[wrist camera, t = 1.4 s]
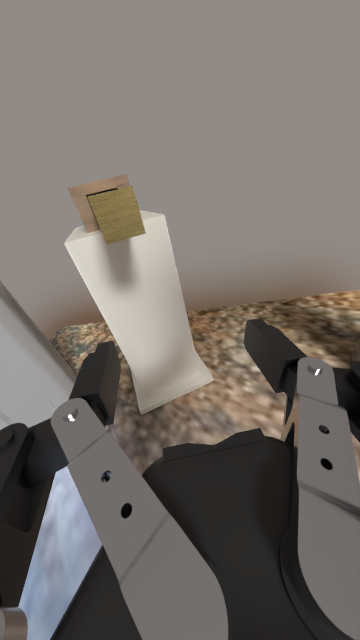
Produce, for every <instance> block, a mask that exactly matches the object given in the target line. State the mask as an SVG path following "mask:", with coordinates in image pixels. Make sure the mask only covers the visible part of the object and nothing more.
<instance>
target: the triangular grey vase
mask: <svg viewBox="0 0 360 640" xmlns="http://www.w3.org/2000/svg"><path fill="white" fill-rule="evenodd" d="M76 379H77V378H76V376H75V374H74V372H73V370H72V369H71V367H70V366H69V365H68V364H67V363H66V361H65V360H64V359H63V358H62V356H61V355H60V354H59V353H58V351H57V350H56V349H55V348H54V346H53V345H52V344H51V343H50V342H49V340H48V339H47V338H46V337H45V335H44V334H43V333H42V332H41V330H40V329H39V328H38V327H37V326H36V324H35V323H34V322H33V321H32V319H31V318H30V317H29V316H28V314H27V313H26V312H25V311H24V310H23V308H22V307H21V306H20V305H19V303H18V302H17V301H16V300H15V298H14V297H13V296H12V295H11V293H10V292H9V291H8V290H7V289H6V287H5V286H4V285H3V284H2V282H1V281H0V430H1V429H3V428H5V427H6V426H8V425H11V424H14V423H23V424H25V425H26V426H27V427H28V428H29V427H32V426H34V425H36V424H38V423H41V422H43V421H45V420H47V419H49V418H51V417H52V415H53V413H54V412H55V410H56V409H57V408H58V407H59V406H60V405H61V404H63V403H64V402H66V401H68V400H69V397H70V394H71V392H72V389H73V386H74V384H75V381H76Z"/></svg>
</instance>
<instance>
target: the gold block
mask: <svg viewBox="0 0 360 640" xmlns="http://www.w3.org/2000/svg"><path fill="white" fill-rule="evenodd" d="M87 198H88V200H89V203H90V205H91V207H92V210H93V212H94V215H95V217H96V220H97V222H98V224H99V227H100V229H101V232H102V234H103V236H104V239H105V241H106V244H107V245H108V244H112V243H115V242H119V241H122V240H125V239H129V238H132V237H135V236H139V235H142V234H145V233H146V232H145V228H144V225H143V221H142V218H141V214H140V211H139V207H138V204H137V200H136V197H135V194H134V190H133V187H132V186H130V187H126V188H122V189H118V190H114V191H110V192H106V193H102V194H98V195H94V196H90V197H87Z"/></svg>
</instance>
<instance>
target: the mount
mask: <svg viewBox="0 0 360 640" xmlns="http://www.w3.org/2000/svg"><path fill="white" fill-rule="evenodd" d="M126 187H130V185H129V181H128V178H127V174H125V175H120V176H116V177H112V178H108V179H104V180H100V181H95V182H91V183H87V184H82V185H78V186H74V187H70V188H68V190H69V192H70V194H71V197H72V199H73V201H74V203H75V205H76V208H77V210H78V212H79V214H80V216H81V219H82V221H83V223H84V226H81V227H77V228H75V230H74V231H73V232H72V233H71V235H70V236H69V237H68V239H67V240H66V241H65V243H64V245H65V246H66V248H67V250H68V252H69V254H70V256H71V258H72V259H73V261H74V263H75V265H76V267H77V269H78V271H79V273H80V274H81V276H82V278H83V280H84V282H85V284H86V286H87V287H88V289H89V291H90V293H91V295H92V297H93V299H94V300H95V302H96V304H97V306H98V308H99V310H100V312H101V314H102V315H103V317H104V319H105V321H106V323H107V325H108V327H109V328H110V330H111V332H112V334H113V336H114V338H115V340H116V341H117V343H118V345H119V347H120V349H121V351H122V353H123V355H124V356H125V358H126V360H127V362H128V364H129V366H130V368H131V373H132V378H133V383H134V387H135V392H136V397H137V402H138V406H139V411H140V413H141V415H142V414H145V413H147V412H149V411H151V410H153V409H155V408H157V407H159V406H161V405H164V404H166V403H168V402H170V401H172V400H174V399H176V398H178V397H180V396H183V395H185V394H187V393H189V392H191V391H193V390H195V389H197V388H199V387H201V386H204V385H206V384H208V383H210V382H212V381H214V379H213V376H212V375H211V373H210V372H209V370H208V369H207V367H206V366H205V364H204V363H203V361H202V360H201V358H200V357H199V355H198V354H197V352H196V351H195V348H194V344H193V339H192V335H191V331H190V326H189V322H188V317H187V313H186V308H185V304H184V299H183V295H182V291H181V286H180V282H179V277H178V273H177V269H176V264H175V260H174V255H173V250H172V246H171V242H170V238H169V233H168V228H167V224H166V219H165V215H163V214H158V213H153V212H148V211H142V210H139V211H140V214H141V218H142V221H143V225H144V228H145V232H146V233H145V234H142V235H139V236H135V237H132V238H129V239H125V240H122V241H119V242H115V243H112V244H108V245H107V244H106V241H105V239H104V236H103V234H102V232H101V229H100V227H99V224H98V222H97V220H96V217H95V215H94V212H93V210H92V207H91V205H90V203H89V200H88V198H87V197H88V196H92V195H96V194H100V193H104V192H108V191H112V190H113V191H114V190H118V189H122V188H126Z"/></svg>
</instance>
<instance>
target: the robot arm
mask: <svg viewBox="0 0 360 640" xmlns="http://www.w3.org/2000/svg"><path fill="white" fill-rule="evenodd" d="M244 344H245V348H246V350H247V352H248V353H249V354H250V356H251V357H252V359H253V360H254V362H255V363H256V365H257V366H258V368H259V369H260V371H261V372H262V374H263V375H264V376H265V378H266V379H267V381H268V382H269V384H270V385H271V387H272V388H273V390H274V391H275V393H280V392H285V393H286V395H287V396H286V400H285V410H284V420H283V429H282V435H281V439H280V440H279V439H276V438H273V437H268V436H264V435H263V433H262V431H261V429H260V428H258V429H253V430H249V431H244V432H239V433H236V434H234V435H232V436H231V437H229V438H227V439H225V440H223V441H221V442H220V443H218V444H216V445H205V444H192V443H186V444H181V445H176V446H172V447H167V448H163V457H161V458H159V459H158V460H157V461H155V462H154V463H153V464H151V465H150V466H149V467H148V468H147V469H146V470H145V472H144V473H143V474H142V475H141V474H140V473H139V472H138V470H137V469H136V467H135V466H134V465H133V463H132V462H131V461H130V459H129V458H128V456H127V455H126V454H125V452H124V451H123V450H122V448H121V447H120V445H119V444H118V443H117V441H116V440H115V438H114V437H113V436H112V434H111V433H110V432H109V431H108V430H106V428H105V426H106V425H110V424H113V421H114V414H115V407H116V400H117V393H118V386H119V379H120V372H121V365H120V360H119V357H118V354H117V351H116V348H115V345H114V342H113V341H108V342H101V343H98V345H97V348H96V351H95V352H94V353H90V354H89V355H88V356H87V357H86V358H85V359H84V360H83V363H82V366H81V369H80V371H79V373H78V376H77V379H76V381H75V384H74V386H73V389H72V392H71V394H70V397H69V400H68V401H66V402H64V403H63V404H61V405H60V406H59V407H58V408H57V409H56V410H55V412H54V413H53V415H52V417H51V418H49V419H47V420H45V421H43V422H41V423H38V424H36V425H34V426H32V427H29V428H28V427H27V426H26V425H25V424H23V423H14V424H11V425H8V426H6V427H5V428H3V429H1V430H0V640H26V639H27V629H28V626H27V618H26V615H25V613H24V611H23V610H22V609H20V608H18V606H19V602H20V599H21V595H22V591H23V588H24V584H25V581H26V577H27V573H28V570H29V566H30V563H31V559H32V555H33V552H34V548H35V545H36V541H37V537H38V534H39V530H40V527H41V523H42V519H43V516H44V512H45V509H46V505H47V501H48V498H49V494H50V491H51V487H52V483H53V480H54V476H55V473H56V472H57V471H59V470H60V469H62V468H64V467H66V466H68V469H69V471H70V474H71V476H72V478H73V480H74V483H75V485H76V487H77V489H78V491H79V494H80V496H81V498H82V500H83V502H84V505H85V507H86V509H87V511H88V513H89V516H90V518H91V520H92V522H93V524H94V527H95V529H96V531H97V533H98V535H99V538H100V540H101V542H102V544H103V545H102V546H101V548H100V550H99V552H98V554H97V555H96V557H95V559H94V561H93V563H92V565H91V566H90V568H89V570H88V572H87V574H86V575H85V577H84V579H83V581H82V583H81V584H80V586H79V588H78V590H77V592H76V594H75V595H74V597H73V599H72V601H71V603H70V604H69V606H68V608H67V610H66V612H65V614H64V615H63V617H62V619H61V621H60V623H59V624H58V626H57V628H56V630H55V632H54V634H53V635H52V637H51V639H50V640H360V483H359V477H358V471H357V466H356V460H355V454H354V449H353V443H352V437H351V432H352V434H353V435H354V436H355V437H356V438H357V440H358V441H359V442H360V337H359V340H358V342H357V344H356V346H355V348H354V351H353V353H352V355H351V360H352V365H351V367H350V368H349V369H343V368H331V367H330V366H329V365H328V364H327V363H325V362H324V361H322V360H319V359H317V358H312V357H307V356H306V355H305V354H304V353H303V352H302V351H301V350H300V349H299V348H298V347H297V346H296V345H295V344H293V343H292V342H291V341H289V339H288V338H287V337H286V336H284V334H283V333H282V332H281V331H280V330H279V329H277V328H275V327H273V326H271V325H267V324H266V323H265V322H264V321H263V320H262V319H261V318H259V319H252V320H248V321H247V323H246V330H245V338H244ZM350 431H351V432H350Z"/></svg>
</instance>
